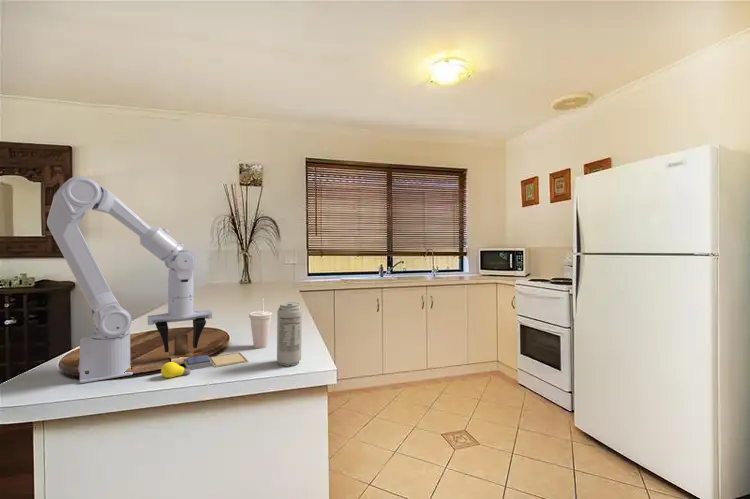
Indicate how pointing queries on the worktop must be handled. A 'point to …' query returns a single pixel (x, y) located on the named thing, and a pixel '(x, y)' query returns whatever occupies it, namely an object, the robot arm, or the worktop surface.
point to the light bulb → (173, 370)
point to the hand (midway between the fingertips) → (181, 349)
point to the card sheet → (228, 359)
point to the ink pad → (198, 362)
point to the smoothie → (260, 327)
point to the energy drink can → (289, 333)
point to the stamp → (181, 347)
